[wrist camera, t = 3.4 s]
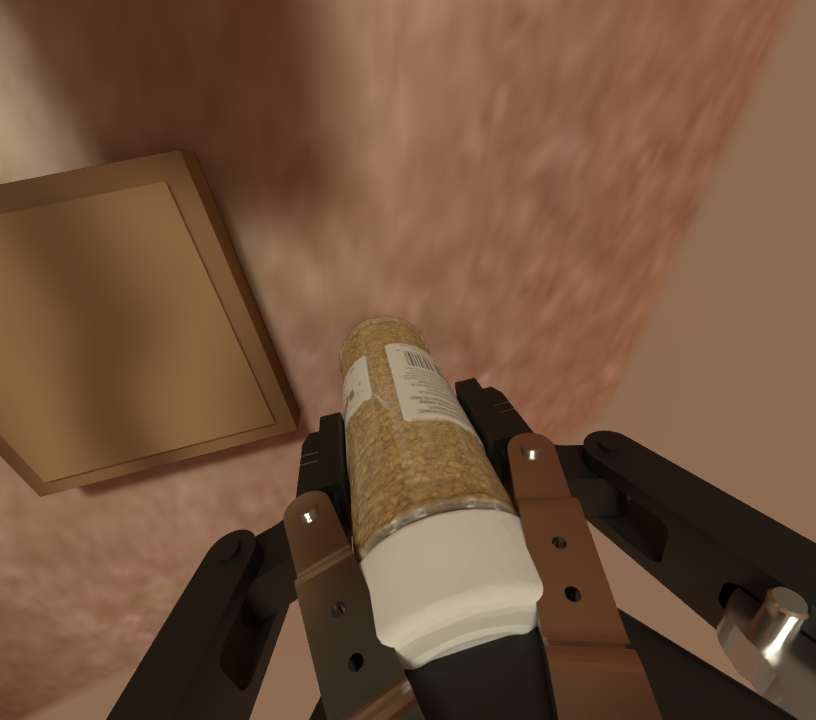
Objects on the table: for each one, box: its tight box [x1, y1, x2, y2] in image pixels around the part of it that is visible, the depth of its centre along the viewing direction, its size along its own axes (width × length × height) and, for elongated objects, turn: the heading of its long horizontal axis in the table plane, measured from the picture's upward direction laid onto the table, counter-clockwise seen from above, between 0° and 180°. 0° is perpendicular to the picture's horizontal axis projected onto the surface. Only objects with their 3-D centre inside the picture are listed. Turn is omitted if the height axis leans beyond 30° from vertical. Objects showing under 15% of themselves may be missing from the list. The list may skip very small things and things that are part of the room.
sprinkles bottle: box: [339, 317, 543, 670], centre depth 12 cm, size 5×5×14 cm
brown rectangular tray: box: [0, 150, 300, 497], centre depth 15 cm, size 12×12×2 cm
